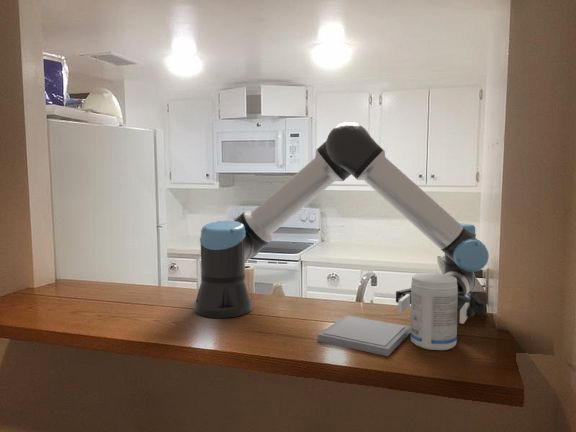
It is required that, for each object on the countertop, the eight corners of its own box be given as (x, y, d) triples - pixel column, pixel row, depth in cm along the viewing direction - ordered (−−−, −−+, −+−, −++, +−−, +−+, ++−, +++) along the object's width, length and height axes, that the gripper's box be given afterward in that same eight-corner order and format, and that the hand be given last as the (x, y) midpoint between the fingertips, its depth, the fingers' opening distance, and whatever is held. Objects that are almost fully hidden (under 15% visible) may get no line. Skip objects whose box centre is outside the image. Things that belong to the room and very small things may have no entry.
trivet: (317, 340, 99) (317, 333, 99) (346, 320, 113) (346, 314, 113) (387, 356, 91) (388, 348, 91) (410, 332, 105) (410, 325, 105)
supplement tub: (459, 340, 100) (462, 275, 99) (452, 355, 92) (455, 284, 91) (415, 333, 105) (417, 270, 103) (404, 346, 96) (406, 278, 95)
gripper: (503, 312, 107) (491, 340, 89) (402, 297, 120) (374, 319, 101) (505, 281, 106) (493, 303, 88) (403, 269, 119) (374, 286, 100)
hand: (429, 311), depth 94 cm, fingers open, 12 cm apart
